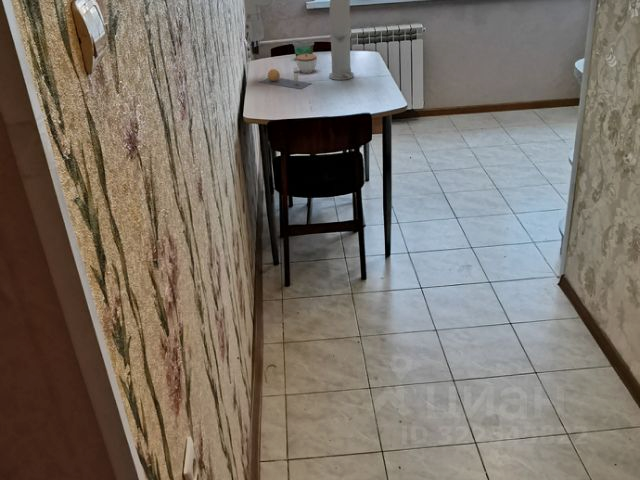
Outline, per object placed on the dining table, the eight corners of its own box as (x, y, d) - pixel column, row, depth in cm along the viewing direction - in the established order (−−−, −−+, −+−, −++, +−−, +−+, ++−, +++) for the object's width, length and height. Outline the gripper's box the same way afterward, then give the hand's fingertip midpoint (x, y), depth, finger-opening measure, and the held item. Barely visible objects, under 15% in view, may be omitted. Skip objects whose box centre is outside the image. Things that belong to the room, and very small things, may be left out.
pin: (299, 84, 331) (298, 68, 326) (295, 85, 330) (294, 68, 325) (297, 83, 332) (296, 67, 328) (293, 84, 331) (292, 67, 327)
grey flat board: (259, 82, 337) (258, 81, 337) (270, 76, 345) (270, 76, 344) (300, 89, 325) (300, 88, 324) (312, 83, 332) (312, 83, 331)
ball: (282, 81, 337) (281, 69, 334) (271, 83, 334) (270, 71, 331) (276, 78, 342) (275, 67, 338) (266, 80, 339) (265, 69, 336)
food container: (290, 60, 370) (289, 42, 365) (294, 57, 375) (293, 39, 370) (311, 61, 366) (310, 43, 361) (315, 58, 371) (314, 40, 366)
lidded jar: (314, 74, 345) (314, 56, 341) (294, 73, 347) (293, 56, 343) (319, 68, 354) (318, 50, 350) (299, 68, 356) (298, 50, 352)
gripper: (249, 20, 320) (252, 58, 329) (268, 14, 331) (270, 51, 340) (237, 18, 324) (240, 56, 333) (256, 13, 334) (258, 49, 344)
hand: (255, 53), depth 337 cm, fingers closed
